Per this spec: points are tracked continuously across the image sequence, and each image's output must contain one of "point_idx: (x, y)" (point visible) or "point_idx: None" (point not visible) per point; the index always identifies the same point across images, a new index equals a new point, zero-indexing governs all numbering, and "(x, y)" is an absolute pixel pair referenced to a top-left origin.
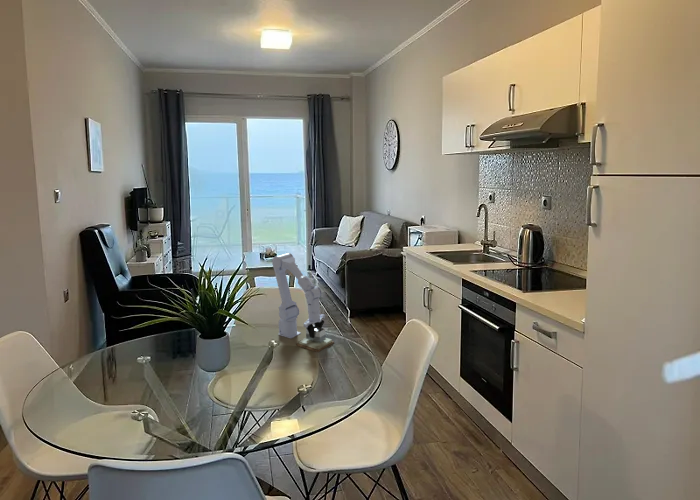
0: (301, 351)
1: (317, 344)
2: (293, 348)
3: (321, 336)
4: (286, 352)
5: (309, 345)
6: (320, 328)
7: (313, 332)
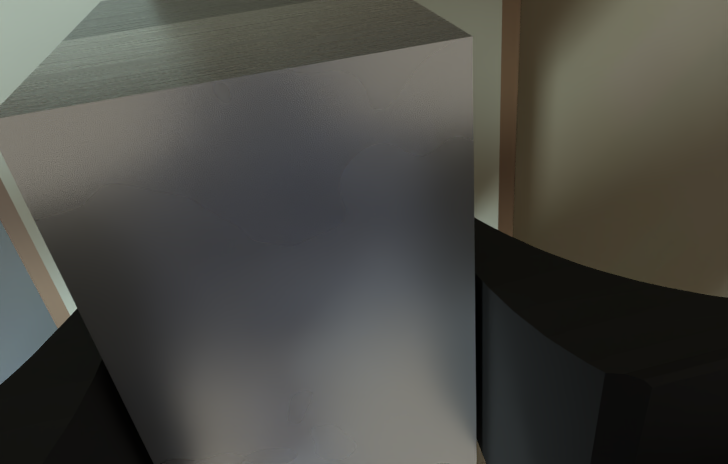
0: (609, 120)
1: None
2: None
3: (297, 4)
4: (717, 240)
5: (494, 120)
6: (170, 297)
7: (507, 251)
